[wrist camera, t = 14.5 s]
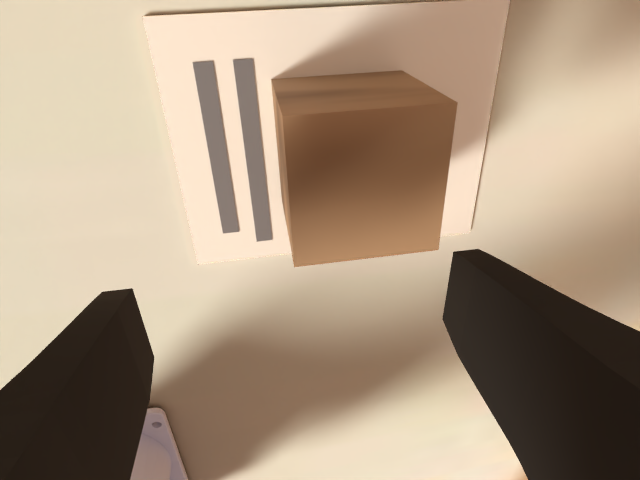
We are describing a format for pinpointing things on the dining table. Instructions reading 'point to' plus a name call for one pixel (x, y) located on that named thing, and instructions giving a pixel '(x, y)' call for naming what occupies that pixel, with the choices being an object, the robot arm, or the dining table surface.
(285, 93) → the walnut cube
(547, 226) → the dining table surface
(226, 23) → the flyer
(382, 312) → the dining table surface
